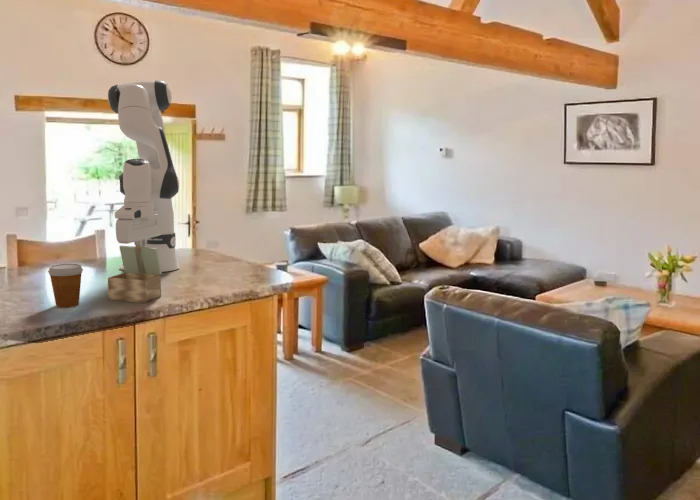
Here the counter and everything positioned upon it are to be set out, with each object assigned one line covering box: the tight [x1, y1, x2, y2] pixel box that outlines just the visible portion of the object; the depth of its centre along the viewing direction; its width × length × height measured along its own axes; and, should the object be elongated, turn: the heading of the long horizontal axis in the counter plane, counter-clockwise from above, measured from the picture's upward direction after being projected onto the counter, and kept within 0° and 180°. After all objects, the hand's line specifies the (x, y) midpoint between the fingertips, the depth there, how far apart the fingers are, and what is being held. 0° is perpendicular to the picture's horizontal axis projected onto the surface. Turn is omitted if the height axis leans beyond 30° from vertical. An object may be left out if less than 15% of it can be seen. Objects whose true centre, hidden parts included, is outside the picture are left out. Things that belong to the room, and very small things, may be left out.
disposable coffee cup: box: [47, 263, 84, 309], centre depth 185 cm, size 10×10×12 cm
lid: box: [119, 245, 163, 276], centre depth 198 cm, size 13×9×1 cm
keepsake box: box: [107, 271, 162, 304], centre depth 196 cm, size 13×9×7 cm
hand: (141, 253), depth 199 cm, fingers closed
